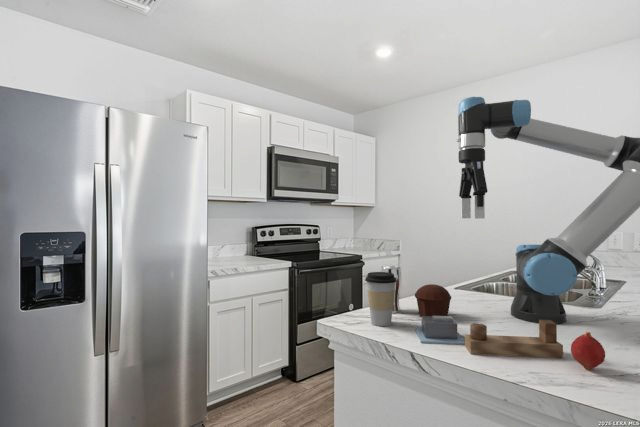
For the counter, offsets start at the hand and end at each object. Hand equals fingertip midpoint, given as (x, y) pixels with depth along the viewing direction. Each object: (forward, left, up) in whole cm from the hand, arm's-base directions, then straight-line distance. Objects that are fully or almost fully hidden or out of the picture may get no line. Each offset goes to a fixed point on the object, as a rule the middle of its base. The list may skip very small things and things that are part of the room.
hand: (472, 218), depth 108 cm
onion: (-14, +32, -32) cm, 47 cm away
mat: (+13, +15, -32) cm, 37 cm away
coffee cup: (+28, +5, -32) cm, 43 cm away
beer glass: (+24, -10, -32) cm, 41 cm away
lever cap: (+13, +15, -31) cm, 37 cm away
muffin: (+11, -5, -32) cm, 34 cm away
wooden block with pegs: (-2, +24, -32) cm, 40 cm away
